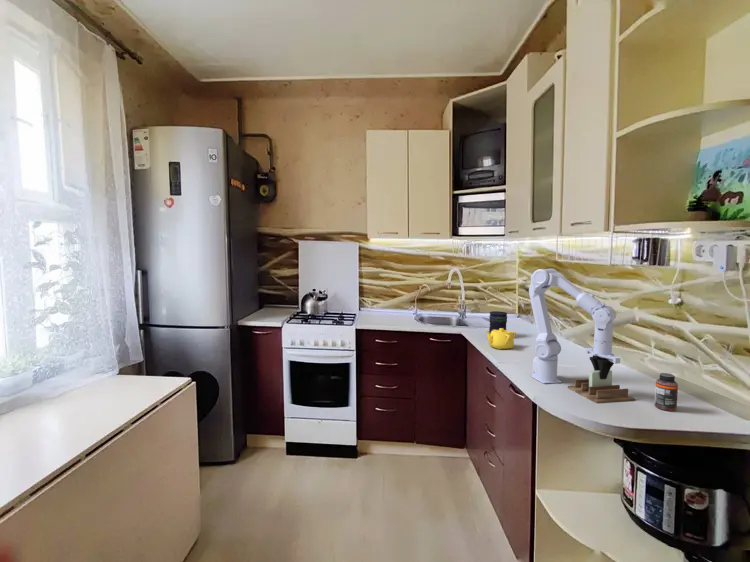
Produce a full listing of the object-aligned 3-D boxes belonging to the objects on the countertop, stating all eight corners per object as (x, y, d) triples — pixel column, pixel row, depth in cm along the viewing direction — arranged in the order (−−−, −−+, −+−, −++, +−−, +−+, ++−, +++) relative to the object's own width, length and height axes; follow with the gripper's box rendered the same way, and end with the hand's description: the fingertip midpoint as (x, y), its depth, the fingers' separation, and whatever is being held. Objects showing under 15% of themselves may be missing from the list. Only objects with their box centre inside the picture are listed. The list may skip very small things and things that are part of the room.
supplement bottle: (667, 404, 137) (669, 371, 136) (681, 411, 131) (683, 377, 130) (649, 404, 137) (652, 371, 136) (663, 411, 131) (665, 377, 130)
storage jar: (507, 340, 231) (508, 314, 230) (490, 339, 232) (491, 313, 231) (504, 336, 241) (505, 311, 240) (487, 335, 242) (488, 311, 241)
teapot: (508, 352, 204) (509, 332, 203) (483, 348, 211) (484, 329, 210) (516, 347, 215) (517, 328, 214) (492, 343, 222) (493, 325, 222)
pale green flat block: (588, 390, 146) (589, 371, 146) (608, 388, 148) (608, 369, 147) (592, 391, 145) (592, 372, 144) (611, 389, 146) (612, 370, 145)
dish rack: (567, 388, 152) (568, 378, 152) (603, 385, 155) (603, 376, 155) (596, 403, 138) (597, 392, 137) (634, 400, 140) (635, 390, 140)
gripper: (579, 336, 151) (577, 372, 152) (608, 345, 137) (606, 385, 138) (595, 335, 152) (593, 371, 153) (626, 344, 138) (624, 384, 139)
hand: (600, 377), depth 146 cm, fingers closed on pale green flat block, 2 cm apart
